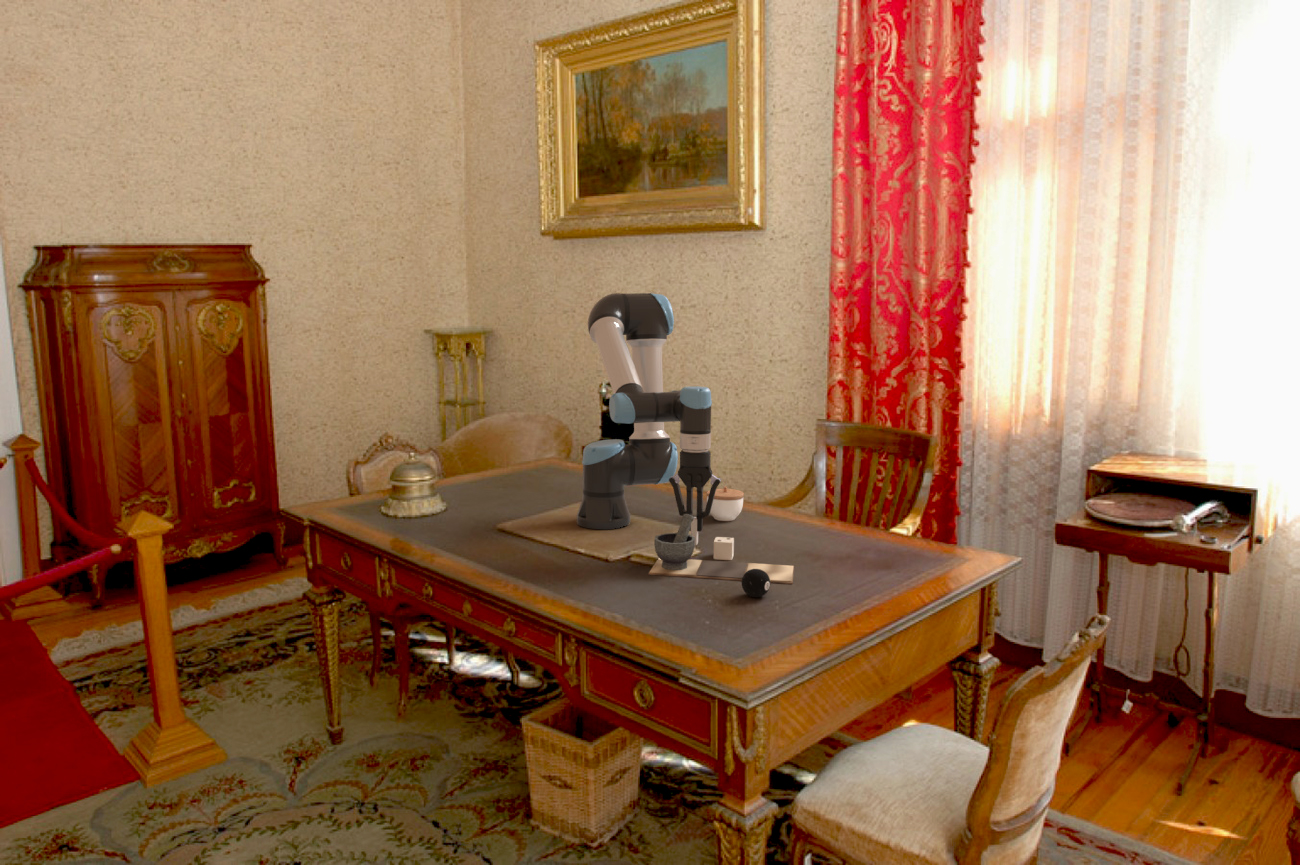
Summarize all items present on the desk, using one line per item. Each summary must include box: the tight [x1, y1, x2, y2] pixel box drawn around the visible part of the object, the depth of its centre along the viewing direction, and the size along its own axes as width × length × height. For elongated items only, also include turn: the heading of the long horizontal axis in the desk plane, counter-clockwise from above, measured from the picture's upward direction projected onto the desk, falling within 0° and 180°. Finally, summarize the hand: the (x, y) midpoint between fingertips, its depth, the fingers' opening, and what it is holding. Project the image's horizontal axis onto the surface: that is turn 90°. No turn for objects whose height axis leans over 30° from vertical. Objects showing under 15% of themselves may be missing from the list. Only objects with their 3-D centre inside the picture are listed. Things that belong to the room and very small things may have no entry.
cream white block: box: [713, 536, 735, 561], centre depth 223 cm, size 4×4×5 cm
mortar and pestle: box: [654, 514, 696, 570], centre depth 213 cm, size 11×9×12 cm
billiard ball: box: [741, 569, 771, 598], centre depth 194 cm, size 6×6×6 cm
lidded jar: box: [706, 486, 745, 522], centre depth 262 cm, size 11×11×9 cm
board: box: [647, 558, 795, 585], centre depth 212 cm, size 33×13×1 cm, turn 79°
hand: (694, 543), depth 224 cm, fingers closed
